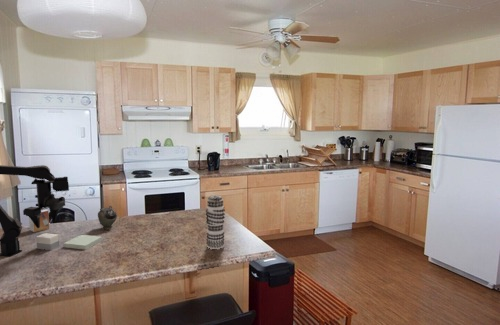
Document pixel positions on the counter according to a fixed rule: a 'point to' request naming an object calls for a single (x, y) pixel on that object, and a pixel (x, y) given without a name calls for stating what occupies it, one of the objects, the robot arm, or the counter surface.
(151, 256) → the counter surface
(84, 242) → the stand
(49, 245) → the block
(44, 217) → the small box
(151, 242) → the counter surface
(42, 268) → the counter surface
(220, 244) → the tower model
